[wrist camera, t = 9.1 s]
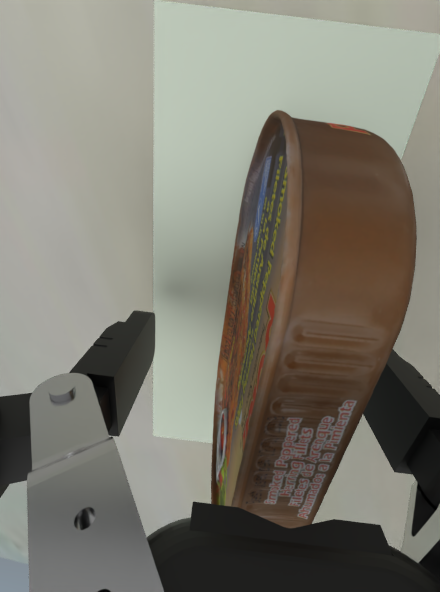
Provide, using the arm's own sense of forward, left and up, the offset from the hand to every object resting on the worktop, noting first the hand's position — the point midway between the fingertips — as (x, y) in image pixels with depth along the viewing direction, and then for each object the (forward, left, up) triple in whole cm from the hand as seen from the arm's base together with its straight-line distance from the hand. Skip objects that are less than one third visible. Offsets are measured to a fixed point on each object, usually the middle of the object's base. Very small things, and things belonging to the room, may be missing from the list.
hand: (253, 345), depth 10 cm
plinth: (0, 0, -9) cm, 9 cm away
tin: (0, 0, -4) cm, 4 cm away
